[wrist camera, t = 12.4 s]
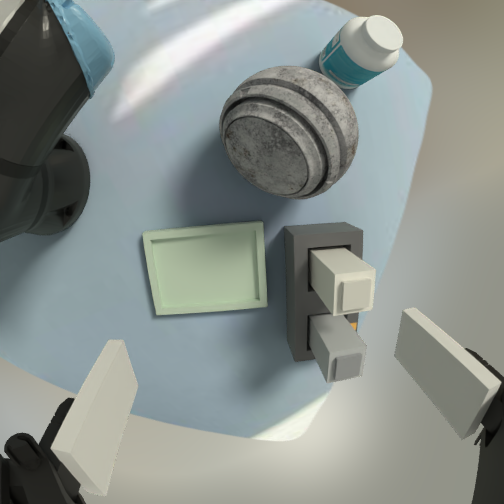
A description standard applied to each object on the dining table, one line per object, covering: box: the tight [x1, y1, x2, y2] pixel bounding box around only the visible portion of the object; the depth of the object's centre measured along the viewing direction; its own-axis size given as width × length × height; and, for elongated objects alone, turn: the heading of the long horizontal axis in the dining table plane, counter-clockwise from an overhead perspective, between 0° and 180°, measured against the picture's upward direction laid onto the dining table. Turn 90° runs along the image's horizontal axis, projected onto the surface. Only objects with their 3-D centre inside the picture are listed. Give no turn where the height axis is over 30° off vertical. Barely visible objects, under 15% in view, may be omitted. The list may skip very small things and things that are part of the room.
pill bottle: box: [319, 15, 403, 89], centre depth 28 cm, size 8×7×14 cm
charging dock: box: [284, 222, 376, 362], centre depth 36 cm, size 9×18×15 cm, turn 4°
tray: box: [142, 221, 268, 315], centre depth 40 cm, size 16×12×2 cm
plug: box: [307, 312, 367, 383], centre depth 36 cm, size 4×4×13 cm
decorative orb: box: [219, 66, 358, 199], centre depth 30 cm, size 15×14×15 cm
